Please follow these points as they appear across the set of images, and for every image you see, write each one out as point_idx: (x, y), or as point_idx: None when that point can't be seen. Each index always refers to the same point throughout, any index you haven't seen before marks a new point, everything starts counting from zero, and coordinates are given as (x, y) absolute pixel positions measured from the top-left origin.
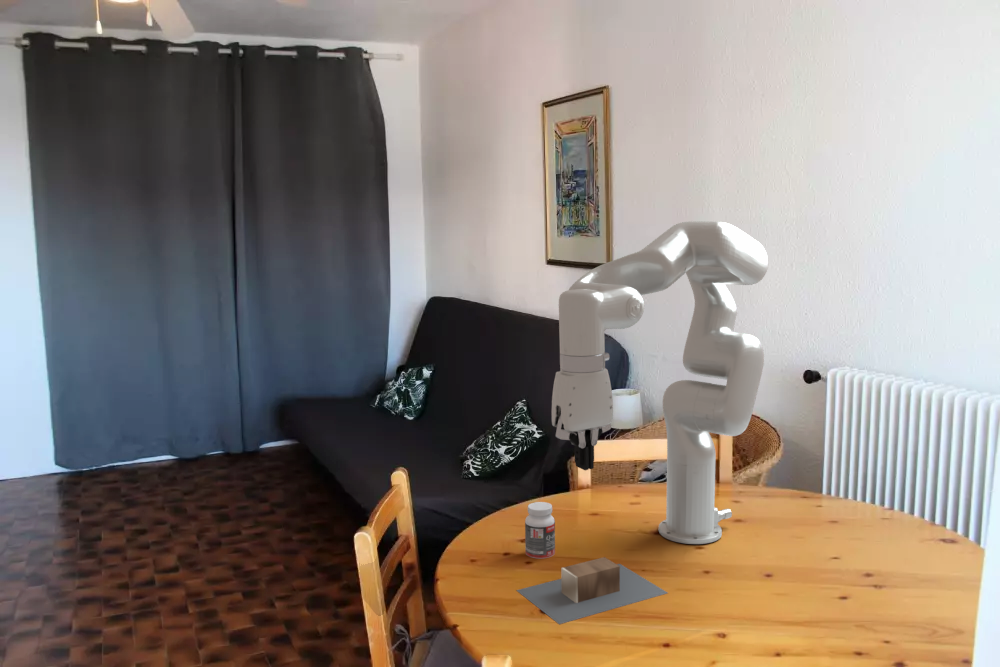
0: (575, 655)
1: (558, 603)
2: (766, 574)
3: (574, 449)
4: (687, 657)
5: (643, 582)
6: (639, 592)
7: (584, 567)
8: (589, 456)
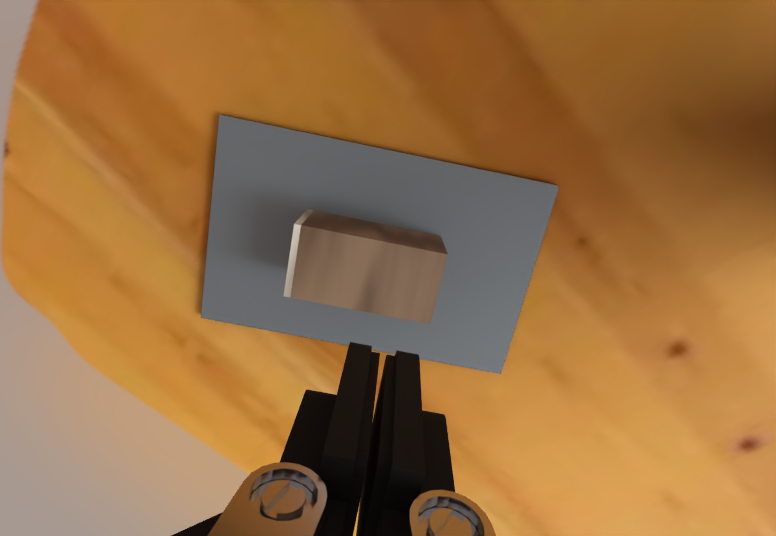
0: (164, 405)
1: (262, 246)
2: (750, 440)
3: (281, 458)
4: None
5: (505, 304)
6: (454, 332)
7: (349, 266)
8: (357, 527)
